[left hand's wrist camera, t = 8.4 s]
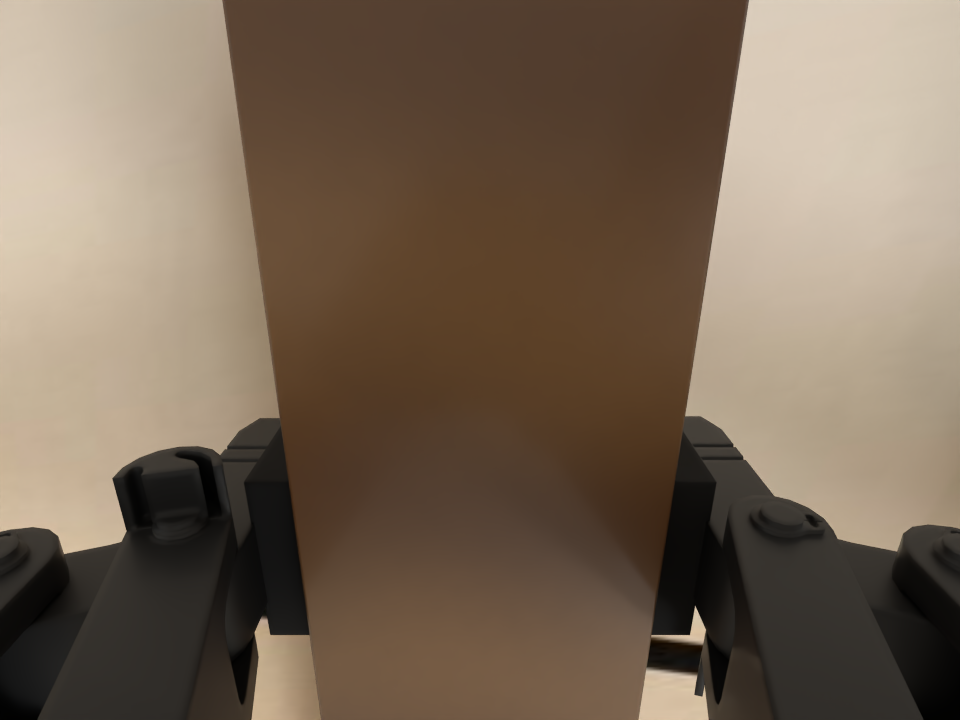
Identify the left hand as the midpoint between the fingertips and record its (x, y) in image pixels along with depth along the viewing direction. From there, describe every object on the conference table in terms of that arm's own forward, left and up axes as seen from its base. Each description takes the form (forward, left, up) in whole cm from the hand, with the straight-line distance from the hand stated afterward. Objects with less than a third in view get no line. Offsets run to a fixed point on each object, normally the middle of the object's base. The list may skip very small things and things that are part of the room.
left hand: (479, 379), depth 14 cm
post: (+23, +25, -1) cm, 34 cm away
